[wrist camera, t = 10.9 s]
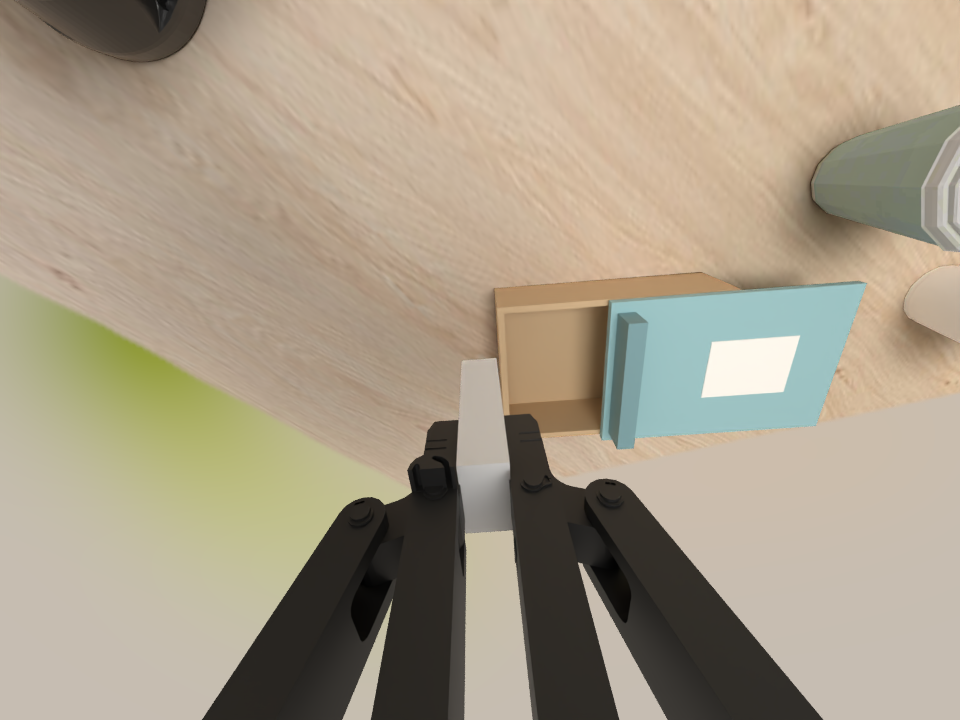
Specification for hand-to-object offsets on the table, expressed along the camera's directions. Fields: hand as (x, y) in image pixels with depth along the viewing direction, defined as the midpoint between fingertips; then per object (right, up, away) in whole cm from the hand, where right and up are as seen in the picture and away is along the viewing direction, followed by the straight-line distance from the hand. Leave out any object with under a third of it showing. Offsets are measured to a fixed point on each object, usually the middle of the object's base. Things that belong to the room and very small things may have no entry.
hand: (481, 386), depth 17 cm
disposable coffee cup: (+35, +19, +20) cm, 44 cm away
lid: (+23, +1, +21) cm, 31 cm away
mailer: (+13, +3, +27) cm, 30 cm away
